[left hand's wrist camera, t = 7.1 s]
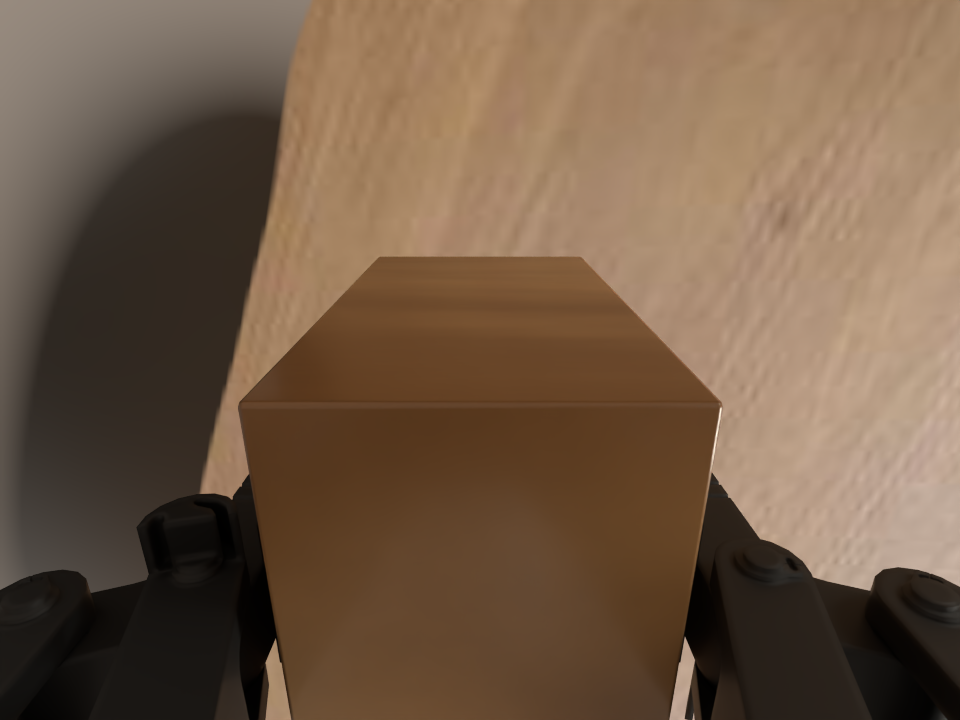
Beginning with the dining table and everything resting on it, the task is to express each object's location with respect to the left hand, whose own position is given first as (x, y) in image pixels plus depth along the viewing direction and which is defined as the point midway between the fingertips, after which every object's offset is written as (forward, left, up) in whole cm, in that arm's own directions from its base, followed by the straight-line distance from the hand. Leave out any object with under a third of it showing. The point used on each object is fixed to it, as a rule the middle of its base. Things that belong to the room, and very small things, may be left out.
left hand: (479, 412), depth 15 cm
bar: (+9, +5, -1) cm, 10 cm away
